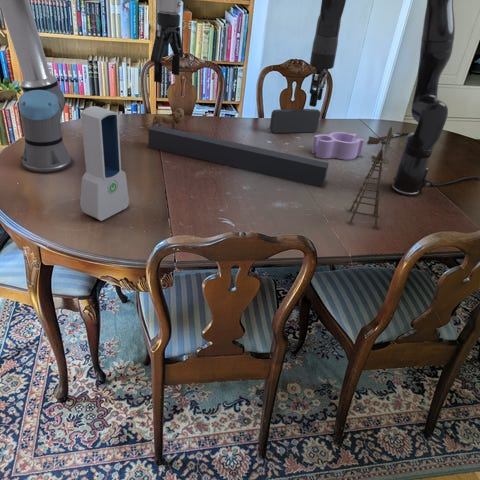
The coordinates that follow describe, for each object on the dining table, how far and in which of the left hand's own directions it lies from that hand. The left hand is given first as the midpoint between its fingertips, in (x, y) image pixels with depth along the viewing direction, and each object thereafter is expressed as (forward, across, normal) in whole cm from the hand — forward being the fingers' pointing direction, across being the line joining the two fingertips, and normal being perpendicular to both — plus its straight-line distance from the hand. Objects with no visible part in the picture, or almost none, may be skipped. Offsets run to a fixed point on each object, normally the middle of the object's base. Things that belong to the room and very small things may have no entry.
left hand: (167, 78), depth 166 cm
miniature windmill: (+26, -19, -78) cm, 84 cm away
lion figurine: (+27, +19, +8) cm, 34 cm away
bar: (+26, 0, -28) cm, 38 cm away
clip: (+25, +32, -61) cm, 74 cm away
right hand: (-2, 0, -54) cm, 54 cm away
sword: (+25, +65, -81) cm, 107 cm away
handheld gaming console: (+26, +48, -40) cm, 67 cm away
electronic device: (+27, -51, -6) cm, 58 cm away
